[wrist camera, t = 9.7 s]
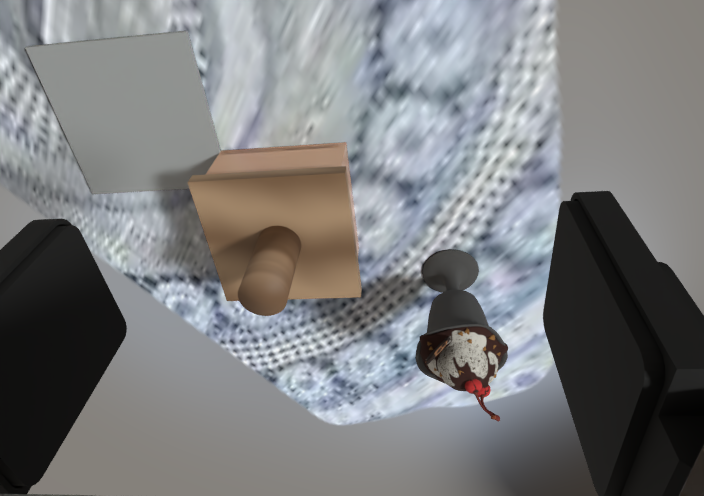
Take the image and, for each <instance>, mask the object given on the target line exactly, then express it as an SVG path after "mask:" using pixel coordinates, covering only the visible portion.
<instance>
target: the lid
mask: <svg viewBox="0 0 704 496" xmlns="http://www.w3.org/2000/svg"><path fill="white" fill-rule="evenodd" d="M188 185H189V188H190V191H191V194H192V197H193V200H194V203H195V206H196V209H197V212H198V215H199V218H200V221H201V224H202V227H203V230H204V233H205V236H206V239H207V242H208V245H209V248H210V251H211V254H212V257H213V260H214V263H215V266H216V269H217V272H218V275H219V278H220V281H221V284H222V287H223V290H224V293H225V296H226V299H227V301H240V303H241V304H242V306H243V307H244V308H246V309H247V310H248V311H250V312H252V313H254V314H257V315H262V316H271V315H275V314H277V313H279V312H281V311H282V310H283V309H284V308H285V306H286V303H287V300H288V299H316V298H351V297H361V290H362V288H361V280H360V272H359V264H358V256H357V248H356V240H355V232H354V224H353V216H352V208H351V200H350V192H349V184H348V176H347V168H346V166H339V167H322V168H306V169H289V170H273V171H256V172H240V173H224V174H207V175H192V176H191V178H190V179H189V181H188Z"/></svg>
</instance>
